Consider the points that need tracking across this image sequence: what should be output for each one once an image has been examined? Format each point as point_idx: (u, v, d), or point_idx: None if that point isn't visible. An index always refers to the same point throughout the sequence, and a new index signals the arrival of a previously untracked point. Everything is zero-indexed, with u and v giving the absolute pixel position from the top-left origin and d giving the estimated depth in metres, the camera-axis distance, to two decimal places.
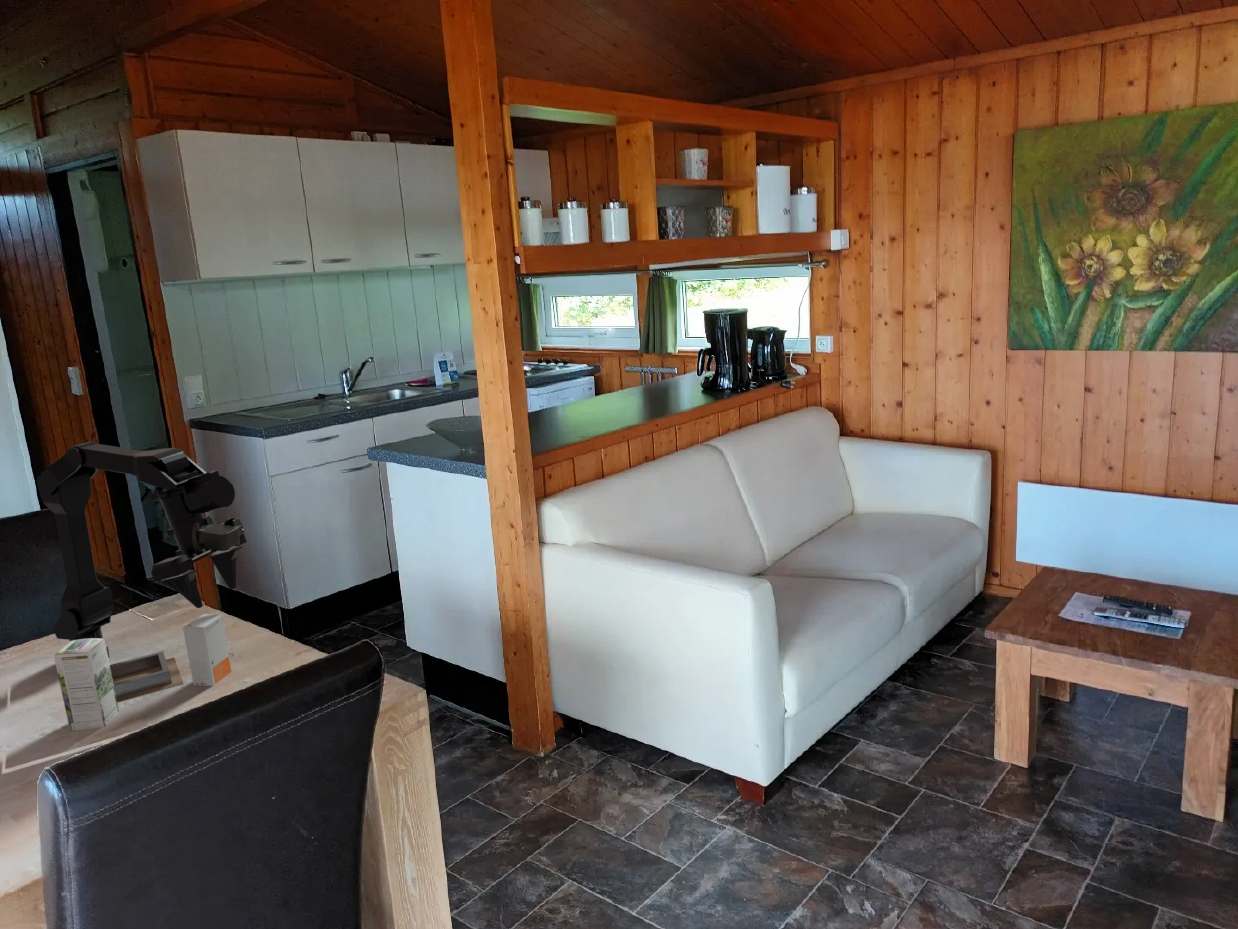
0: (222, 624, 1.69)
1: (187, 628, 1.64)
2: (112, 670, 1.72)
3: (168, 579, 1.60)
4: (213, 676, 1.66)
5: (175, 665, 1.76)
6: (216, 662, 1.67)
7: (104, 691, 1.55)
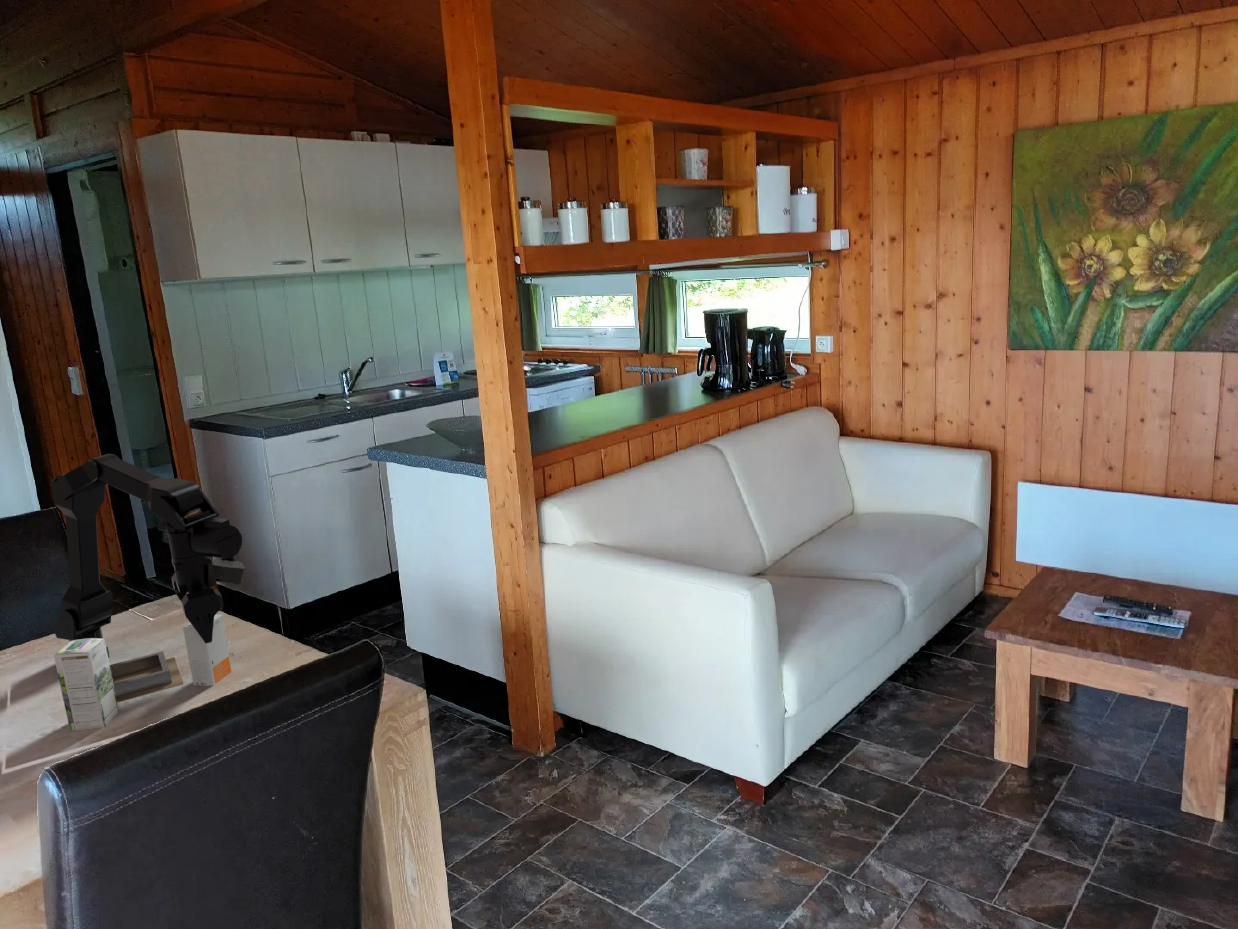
0: (222, 624, 1.69)
1: (187, 628, 1.64)
2: (112, 670, 1.72)
3: (199, 613, 1.59)
4: (213, 676, 1.66)
5: (175, 665, 1.76)
6: (216, 662, 1.67)
7: (104, 691, 1.55)
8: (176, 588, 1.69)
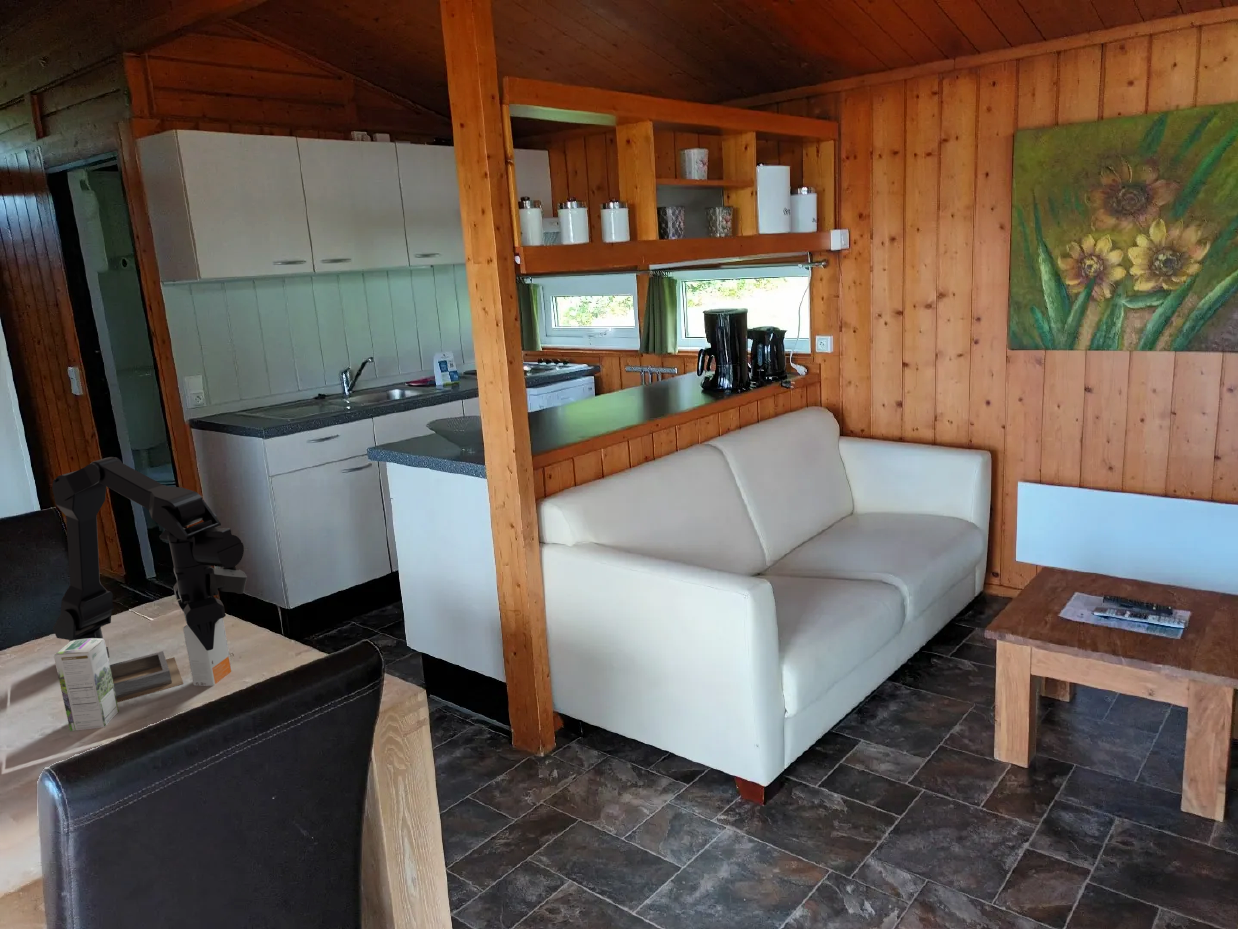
0: (222, 624, 1.69)
1: (187, 628, 1.64)
2: (112, 670, 1.72)
3: None
4: (213, 676, 1.66)
5: (175, 665, 1.76)
6: (216, 662, 1.67)
7: (104, 691, 1.55)
8: (178, 597, 1.69)
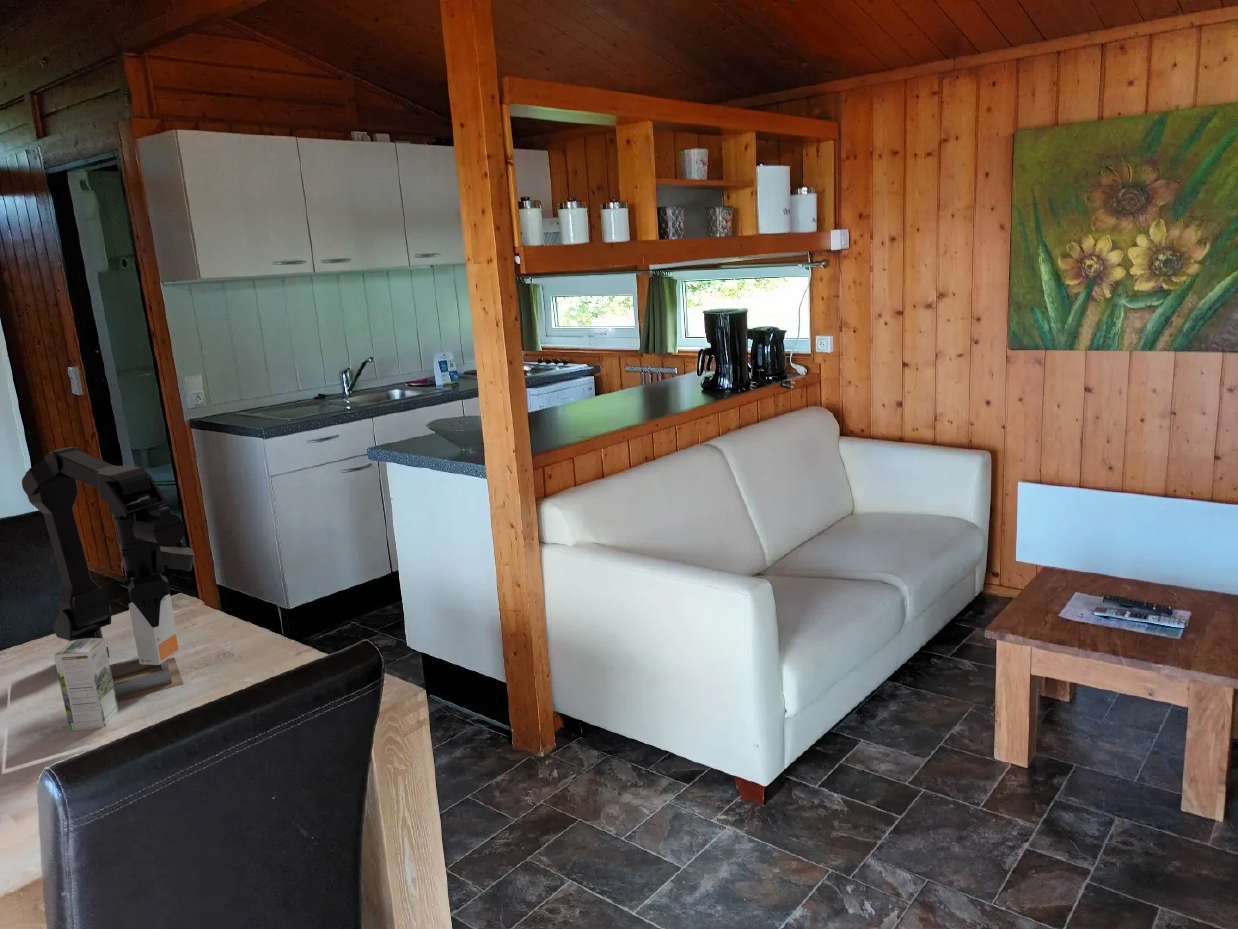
0: (169, 601, 1.69)
1: (132, 604, 1.64)
2: (112, 670, 1.72)
3: None
4: (158, 653, 1.66)
5: (175, 665, 1.76)
6: (162, 639, 1.67)
7: (104, 691, 1.55)
8: (125, 574, 1.69)
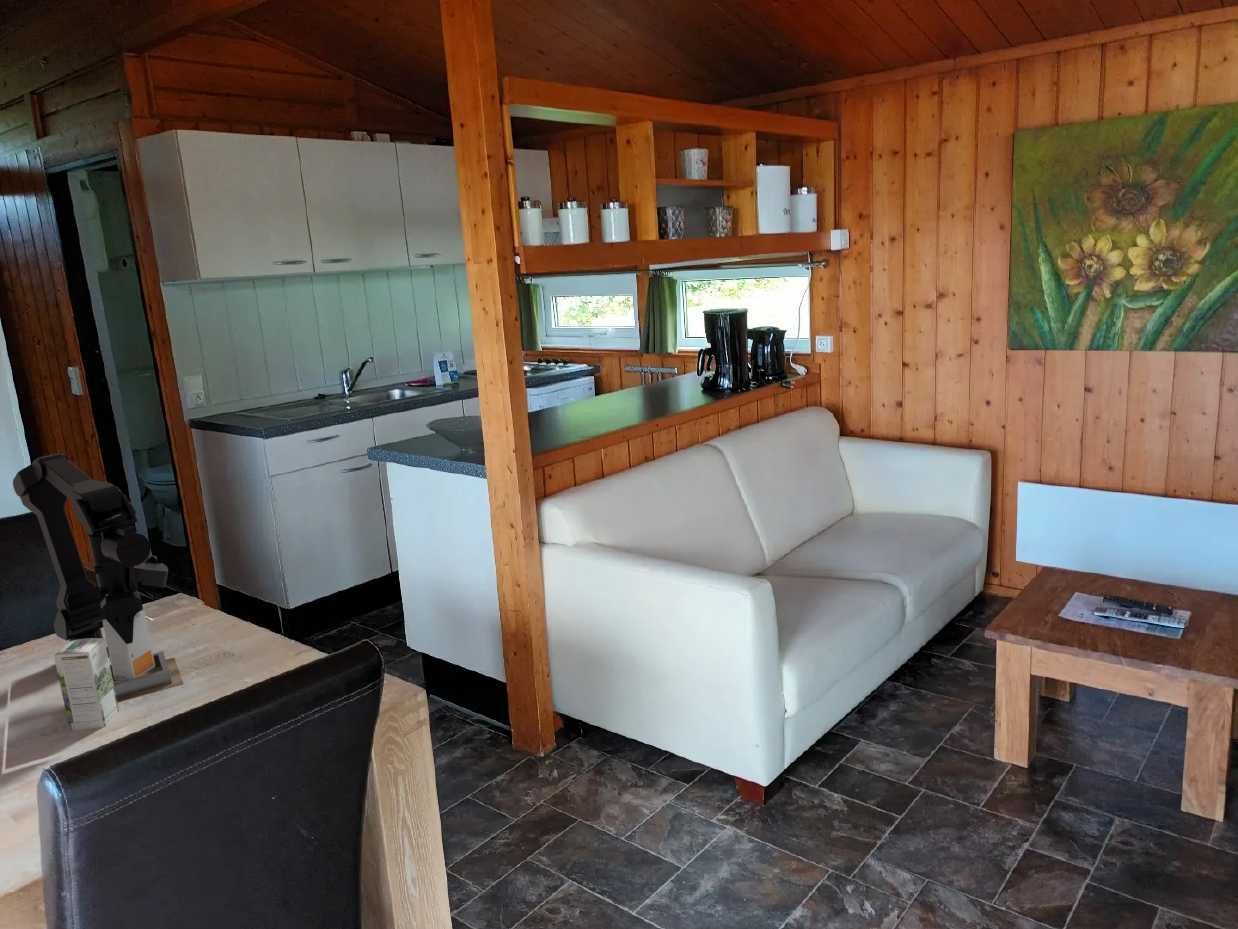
0: (144, 617, 1.70)
1: (106, 621, 1.65)
2: (112, 670, 1.72)
3: None
4: (133, 669, 1.67)
5: (175, 665, 1.76)
6: (136, 655, 1.68)
7: (104, 691, 1.55)
8: None
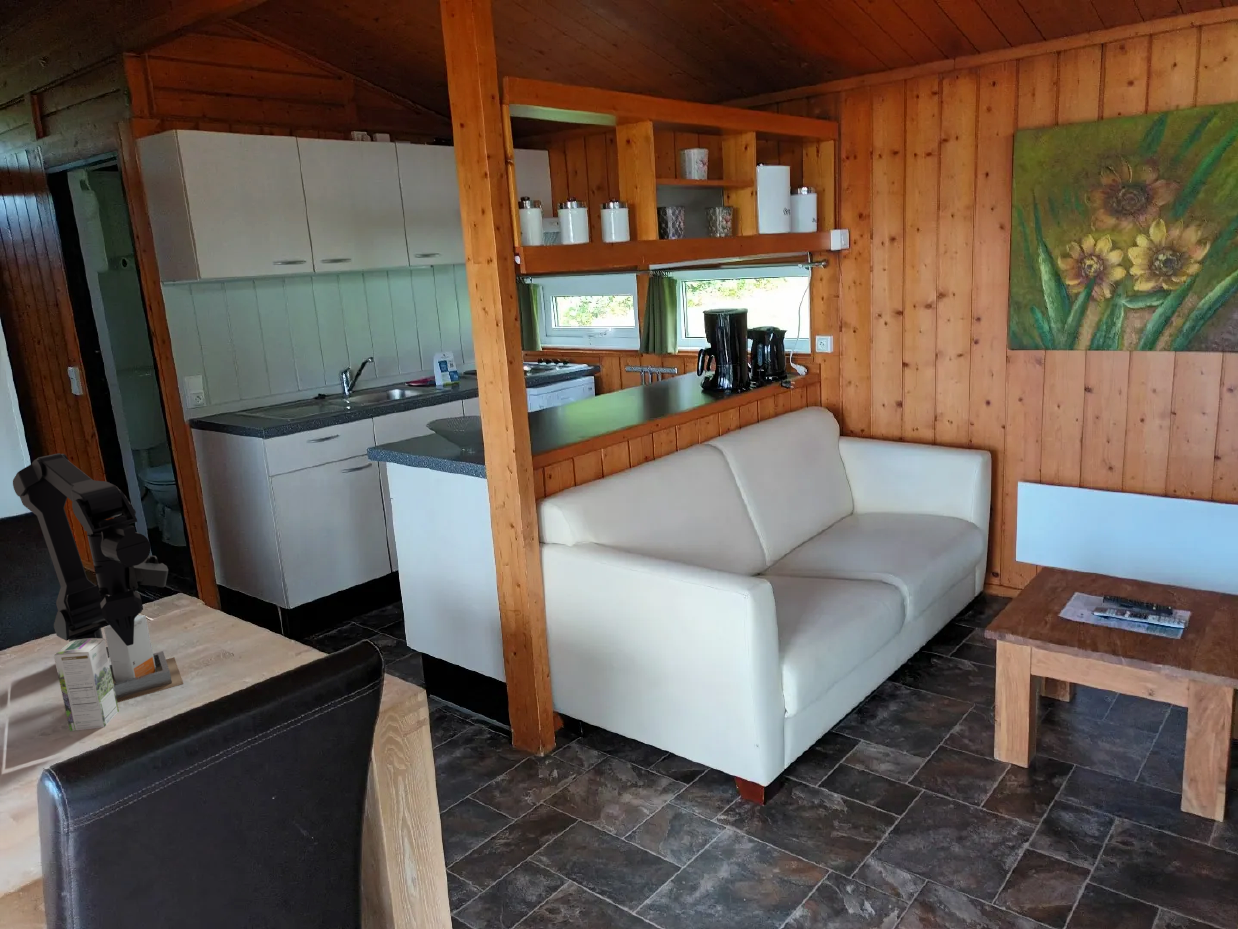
0: (145, 624, 1.70)
1: (107, 628, 1.65)
2: (112, 670, 1.72)
3: (118, 616, 1.59)
4: (134, 676, 1.67)
5: (175, 665, 1.76)
6: (138, 662, 1.68)
7: (104, 691, 1.55)
8: (100, 591, 1.70)
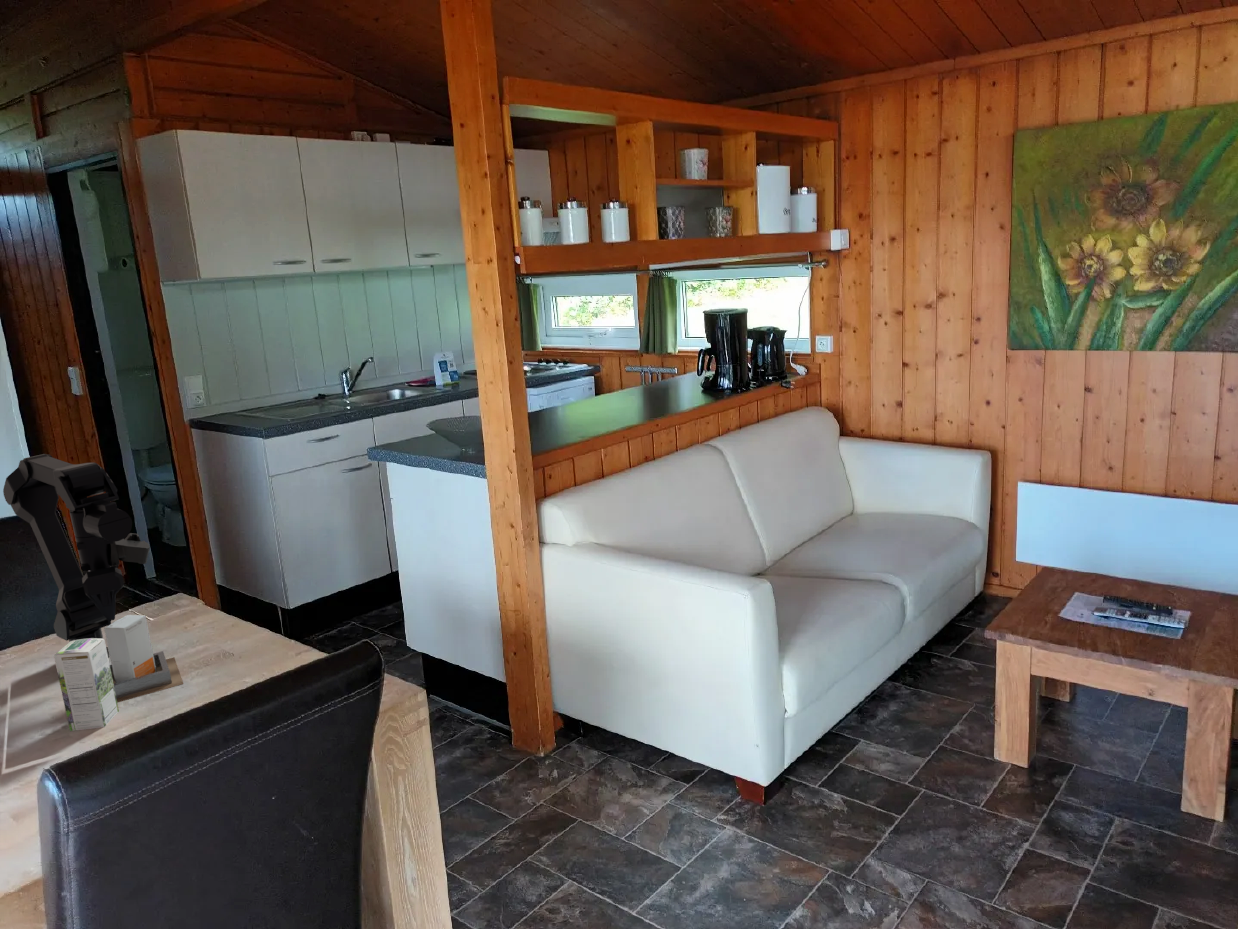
0: (145, 624, 1.70)
1: (108, 628, 1.65)
2: (112, 670, 1.72)
3: (99, 591, 1.63)
4: (134, 676, 1.67)
5: (175, 665, 1.76)
6: (138, 662, 1.68)
7: (104, 691, 1.55)
8: None
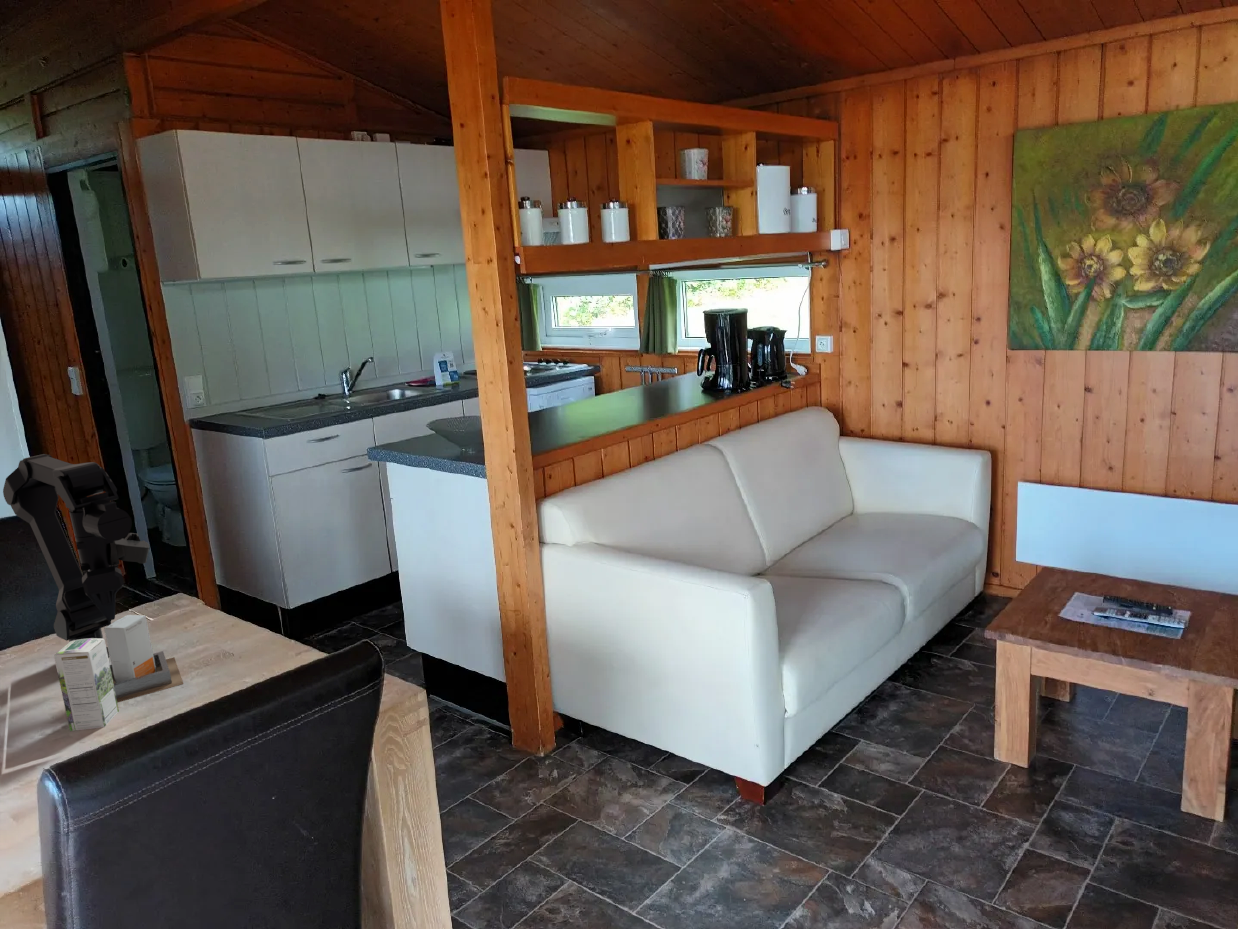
0: (145, 624, 1.70)
1: (108, 628, 1.65)
2: (112, 670, 1.72)
3: (99, 591, 1.63)
4: (134, 676, 1.67)
5: (175, 665, 1.76)
6: (138, 662, 1.68)
7: (104, 691, 1.55)
8: None
